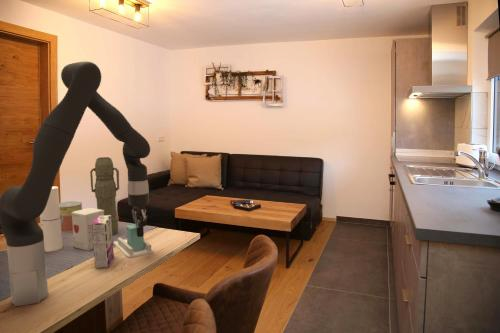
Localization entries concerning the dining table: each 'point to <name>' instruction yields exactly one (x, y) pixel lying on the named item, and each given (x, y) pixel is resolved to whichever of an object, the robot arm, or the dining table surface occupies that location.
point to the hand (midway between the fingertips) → (140, 236)
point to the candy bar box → (102, 241)
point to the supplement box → (84, 227)
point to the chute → (128, 249)
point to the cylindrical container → (52, 222)
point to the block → (134, 238)
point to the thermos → (106, 189)
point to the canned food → (68, 214)
